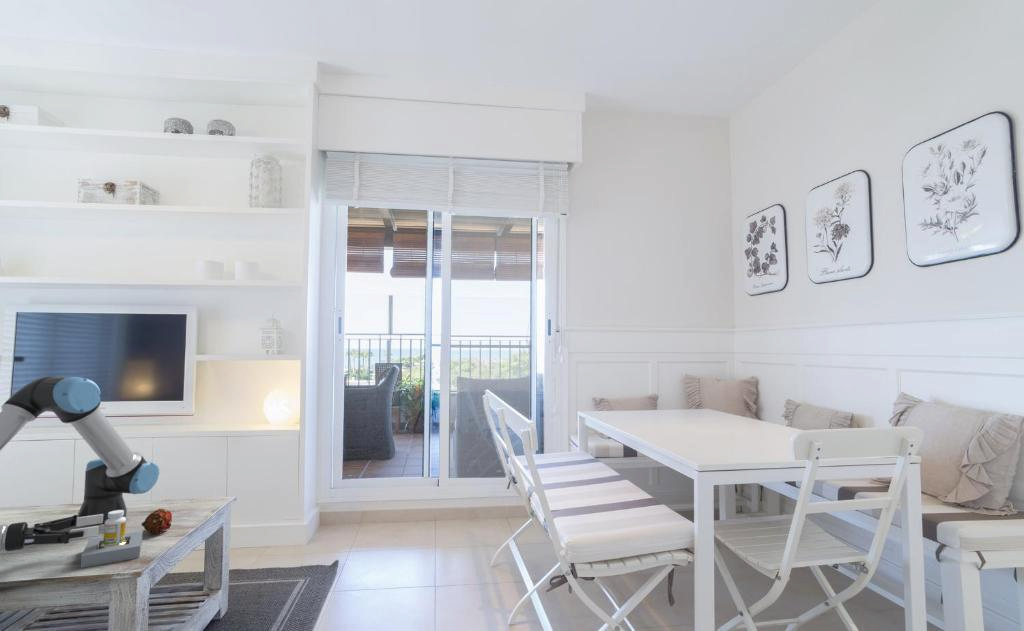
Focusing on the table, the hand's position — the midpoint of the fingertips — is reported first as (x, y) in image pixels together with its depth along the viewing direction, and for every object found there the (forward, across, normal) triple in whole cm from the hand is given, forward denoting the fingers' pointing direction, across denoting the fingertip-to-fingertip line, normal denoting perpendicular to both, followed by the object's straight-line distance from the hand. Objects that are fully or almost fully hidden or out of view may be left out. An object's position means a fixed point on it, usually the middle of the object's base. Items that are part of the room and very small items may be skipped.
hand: (100, 524), depth 157 cm
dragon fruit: (+15, -17, -10) cm, 25 cm away
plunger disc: (+4, 0, -9) cm, 10 cm away
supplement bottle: (+4, 0, -7) cm, 8 cm away
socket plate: (+4, 0, -10) cm, 11 cm away
